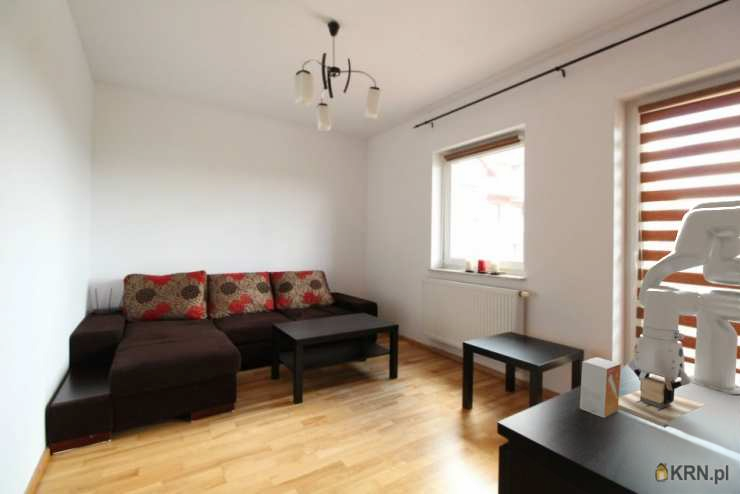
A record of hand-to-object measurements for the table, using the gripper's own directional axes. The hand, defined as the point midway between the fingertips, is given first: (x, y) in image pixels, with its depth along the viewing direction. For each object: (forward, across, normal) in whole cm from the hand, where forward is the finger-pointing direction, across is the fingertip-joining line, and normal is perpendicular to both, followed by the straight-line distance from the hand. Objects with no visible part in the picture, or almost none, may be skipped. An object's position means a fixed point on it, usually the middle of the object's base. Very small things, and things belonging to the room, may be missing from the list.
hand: (656, 398), depth 99 cm
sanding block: (+1, 0, 0) cm, 1 cm away
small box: (+3, +6, +17) cm, 18 cm away
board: (+2, 0, 0) cm, 2 cm away
